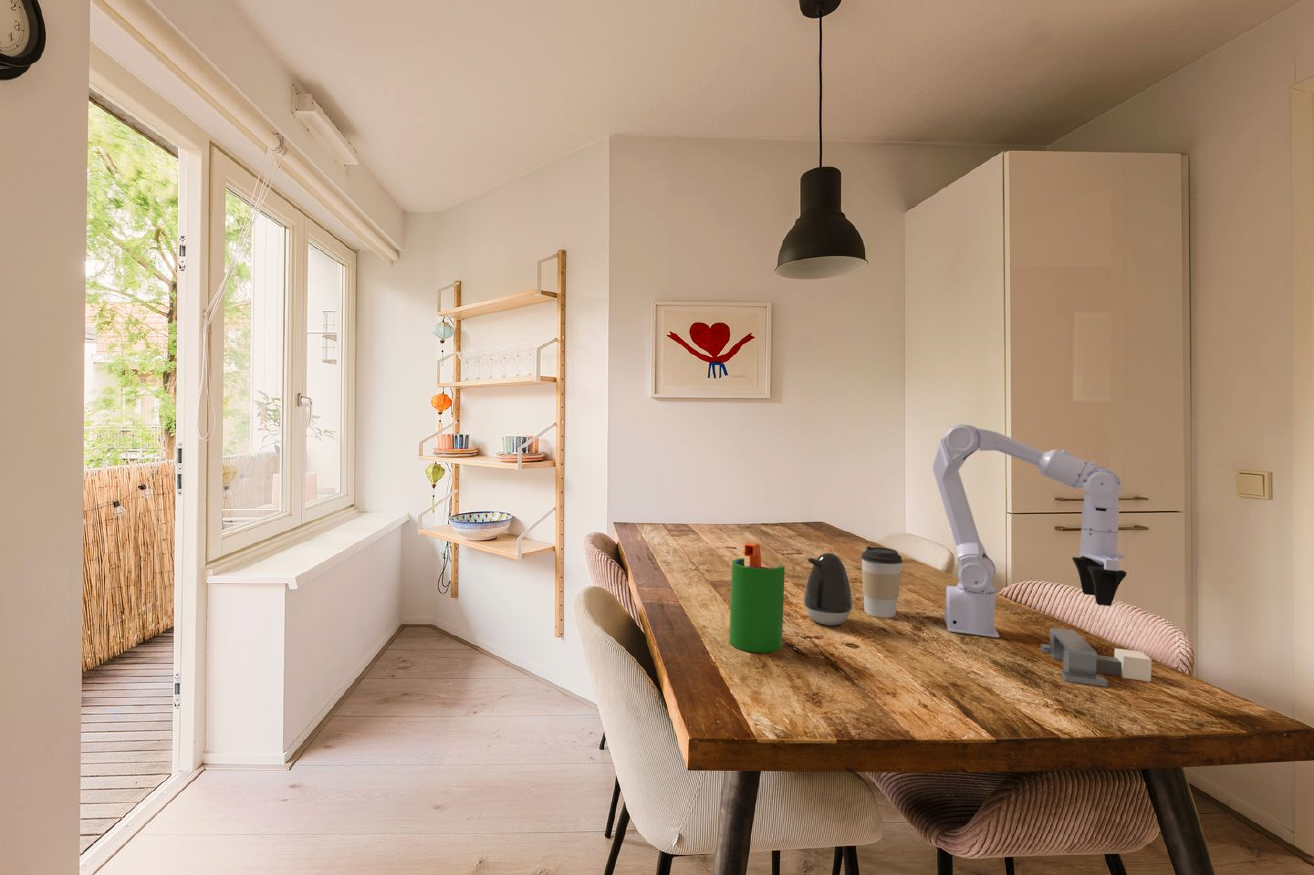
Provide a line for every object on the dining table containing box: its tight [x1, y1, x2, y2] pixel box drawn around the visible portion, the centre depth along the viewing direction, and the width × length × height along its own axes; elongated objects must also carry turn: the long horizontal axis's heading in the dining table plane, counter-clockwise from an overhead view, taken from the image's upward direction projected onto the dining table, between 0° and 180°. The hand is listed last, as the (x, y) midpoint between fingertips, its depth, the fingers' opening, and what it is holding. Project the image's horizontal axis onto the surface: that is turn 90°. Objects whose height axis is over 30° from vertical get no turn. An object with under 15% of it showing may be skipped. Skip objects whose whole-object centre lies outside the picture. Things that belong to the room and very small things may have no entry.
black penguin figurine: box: [803, 552, 853, 627], centre depth 129 cm, size 10×10×15 cm
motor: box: [729, 542, 786, 654], centre depth 114 cm, size 10×9×20 cm
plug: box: [1096, 647, 1153, 683], centre depth 105 cm, size 8×4×4 cm, turn 70°
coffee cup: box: [860, 545, 903, 619], centre depth 136 cm, size 9×9×15 cm
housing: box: [1040, 627, 1108, 688], centre depth 107 cm, size 6×16×5 cm, turn 160°
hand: (1096, 599), depth 114 cm, fingers open, 7 cm apart
